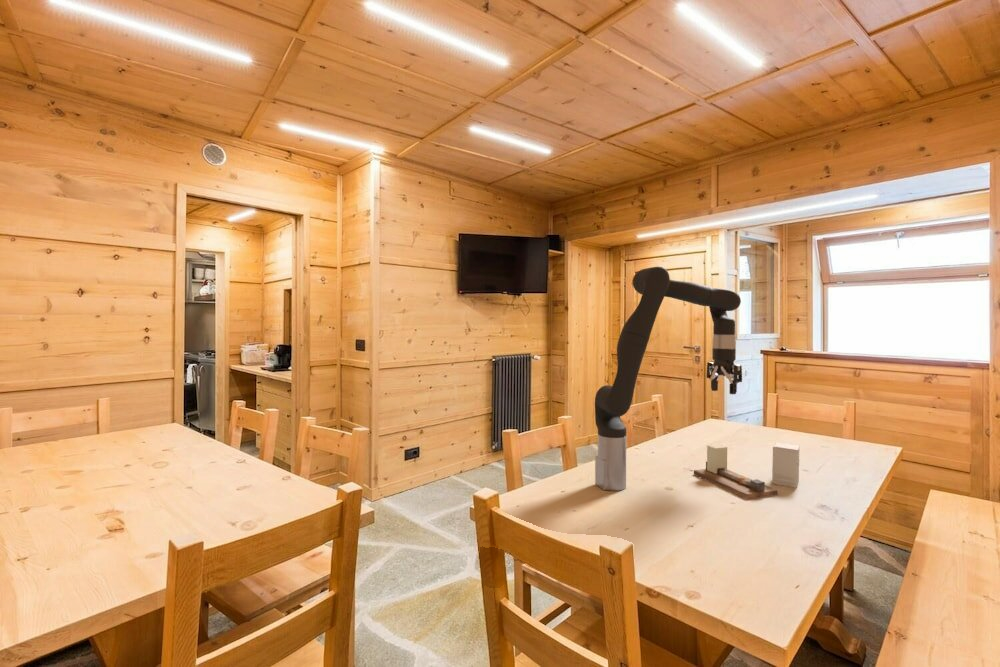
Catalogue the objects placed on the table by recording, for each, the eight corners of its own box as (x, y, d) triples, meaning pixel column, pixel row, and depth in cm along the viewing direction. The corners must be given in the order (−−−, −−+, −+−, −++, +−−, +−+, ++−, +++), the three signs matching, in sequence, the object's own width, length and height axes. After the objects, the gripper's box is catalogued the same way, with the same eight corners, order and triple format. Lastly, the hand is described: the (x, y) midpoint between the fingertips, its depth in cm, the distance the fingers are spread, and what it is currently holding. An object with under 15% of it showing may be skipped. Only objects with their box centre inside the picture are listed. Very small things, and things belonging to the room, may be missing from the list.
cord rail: (746, 499, 143) (747, 484, 143) (693, 474, 166) (693, 461, 166) (777, 494, 146) (777, 480, 146) (721, 471, 169) (721, 459, 169)
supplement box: (797, 488, 152) (798, 450, 152) (771, 483, 156) (772, 446, 156) (799, 482, 158) (800, 445, 157) (774, 477, 162) (774, 441, 162)
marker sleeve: (715, 473, 160) (715, 448, 160) (706, 470, 164) (707, 445, 164) (727, 472, 162) (727, 447, 162) (718, 468, 166) (718, 444, 165)
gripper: (701, 346, 172) (700, 390, 172) (730, 348, 158) (730, 395, 158) (717, 346, 174) (717, 389, 174) (748, 348, 160) (747, 394, 161)
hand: (723, 392), depth 166 cm, fingers open, 8 cm apart
